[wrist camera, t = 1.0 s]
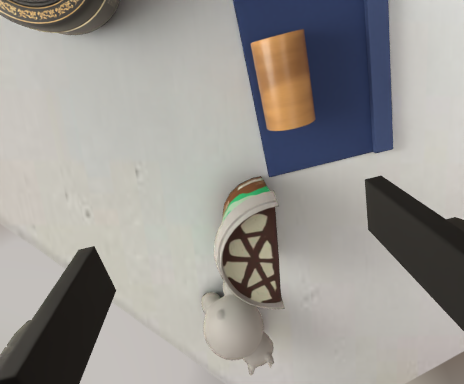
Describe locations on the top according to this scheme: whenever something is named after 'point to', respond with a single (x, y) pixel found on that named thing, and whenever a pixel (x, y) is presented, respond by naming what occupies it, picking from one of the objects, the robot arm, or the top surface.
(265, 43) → the roller
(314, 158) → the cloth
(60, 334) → the robot arm
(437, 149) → the top surface
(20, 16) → the jar
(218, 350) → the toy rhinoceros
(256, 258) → the food container
